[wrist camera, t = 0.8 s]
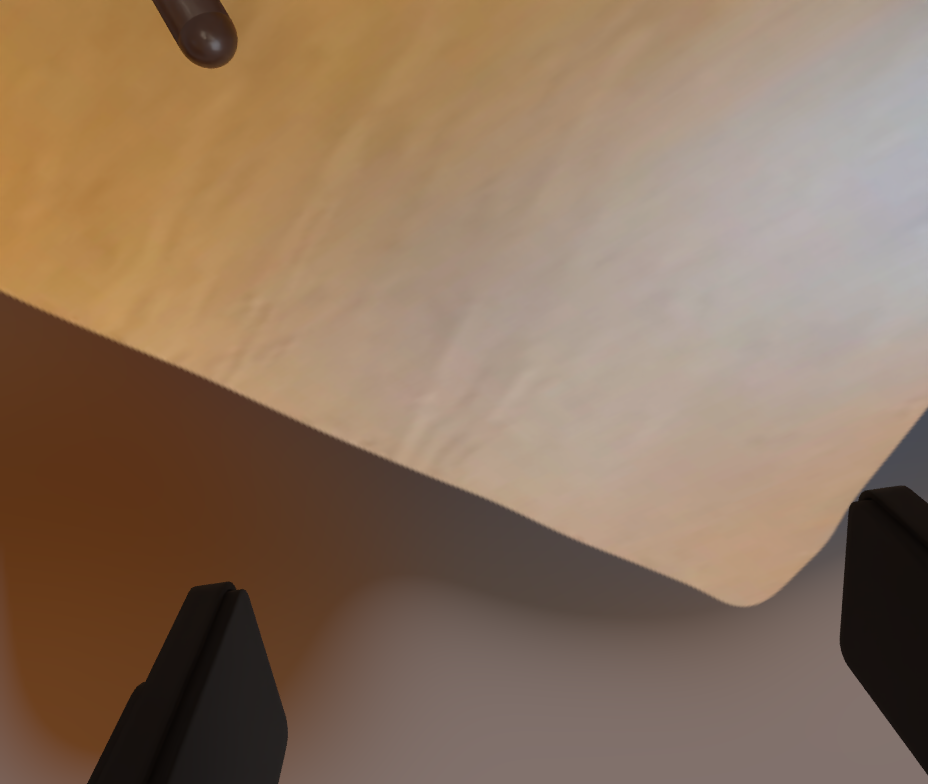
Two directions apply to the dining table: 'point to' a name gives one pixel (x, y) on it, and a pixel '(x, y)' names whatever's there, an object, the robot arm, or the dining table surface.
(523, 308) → the dining table surface
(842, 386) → the dining table surface
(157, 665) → the robot arm
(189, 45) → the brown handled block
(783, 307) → the dining table surface
